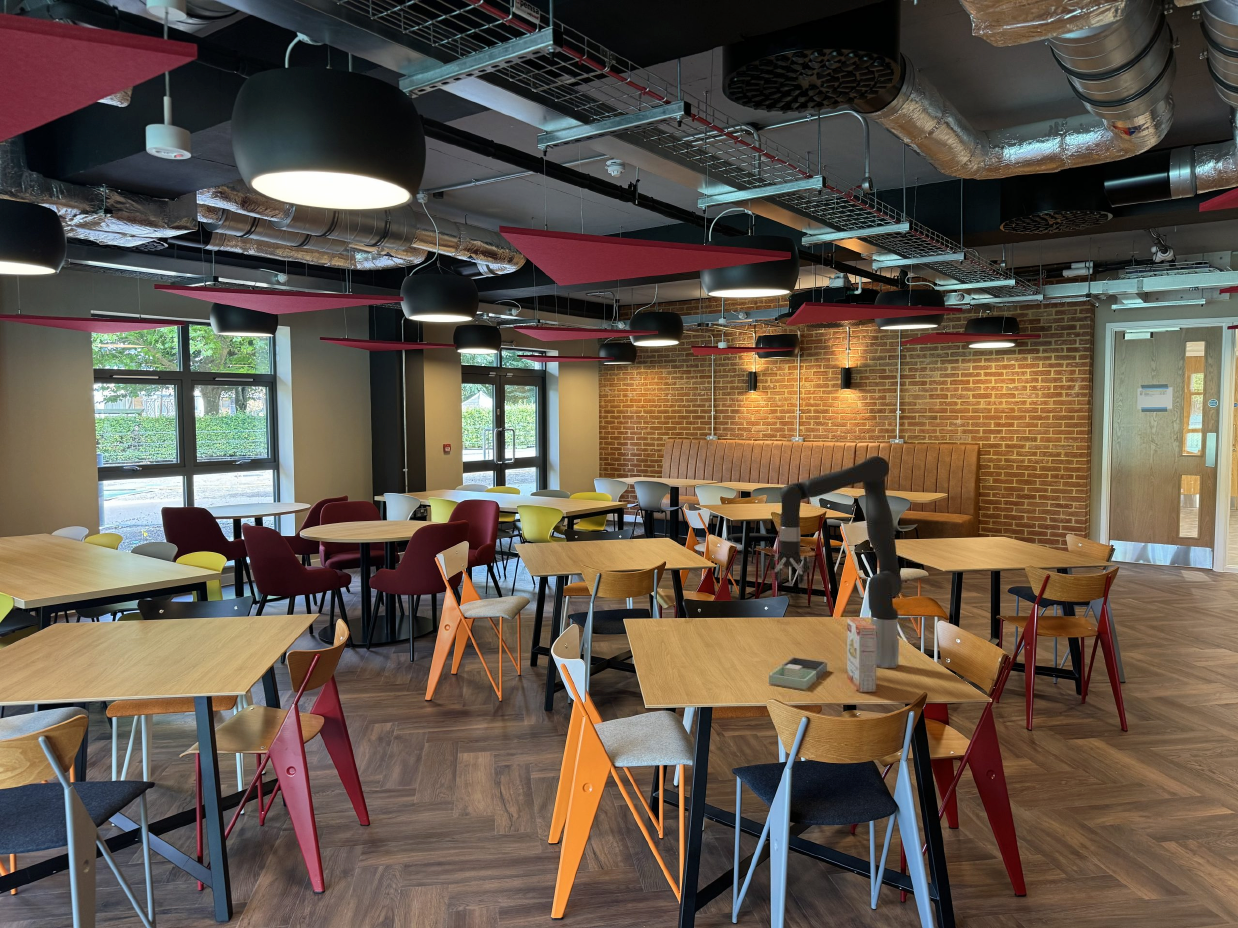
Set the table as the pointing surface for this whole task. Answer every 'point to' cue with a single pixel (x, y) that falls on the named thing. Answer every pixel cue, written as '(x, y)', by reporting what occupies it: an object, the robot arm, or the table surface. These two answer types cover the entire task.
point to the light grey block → (793, 671)
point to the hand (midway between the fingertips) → (789, 582)
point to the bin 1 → (792, 679)
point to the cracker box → (861, 654)
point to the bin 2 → (809, 665)
